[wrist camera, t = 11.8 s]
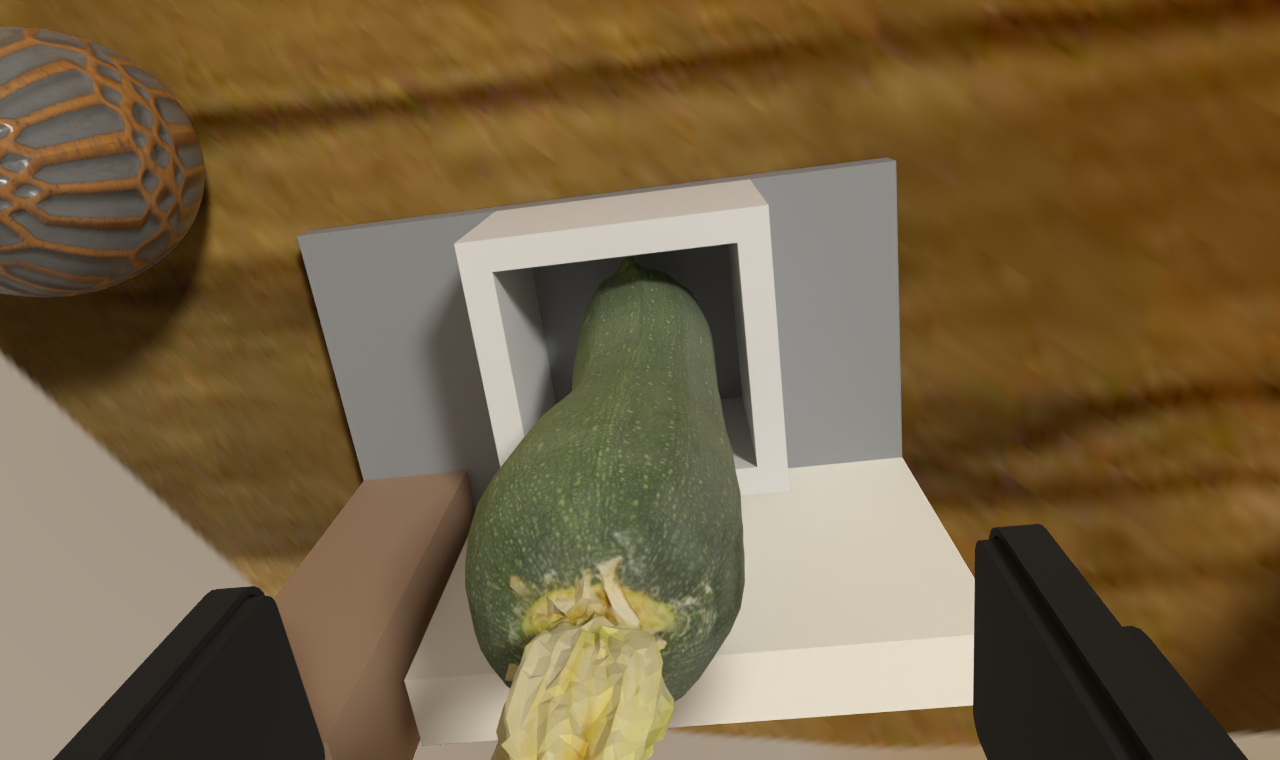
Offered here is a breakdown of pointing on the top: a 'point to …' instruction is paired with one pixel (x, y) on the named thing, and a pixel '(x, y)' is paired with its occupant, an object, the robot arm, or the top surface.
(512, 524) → the vegetable
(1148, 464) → the top surface
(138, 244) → the vase
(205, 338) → the top surface
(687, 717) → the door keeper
